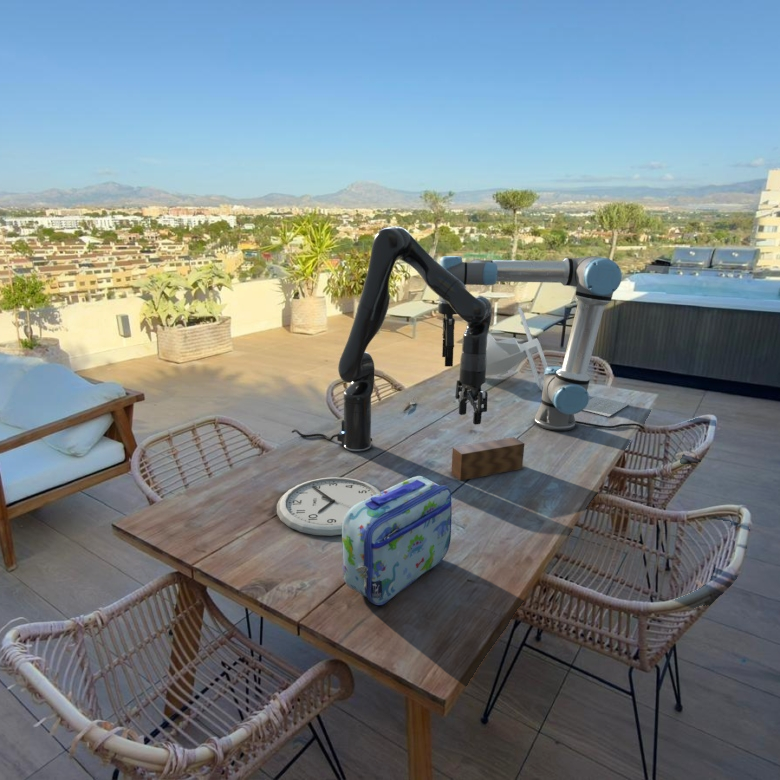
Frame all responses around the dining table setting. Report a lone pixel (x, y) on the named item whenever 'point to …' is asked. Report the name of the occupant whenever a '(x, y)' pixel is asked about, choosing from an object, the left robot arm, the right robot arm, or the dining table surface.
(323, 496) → the wall clock
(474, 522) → the dining table surface
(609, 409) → the grey rectangular panel
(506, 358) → the white plastic object
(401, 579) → the lunch box
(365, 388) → the left robot arm
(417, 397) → the fork
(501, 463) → the bar
